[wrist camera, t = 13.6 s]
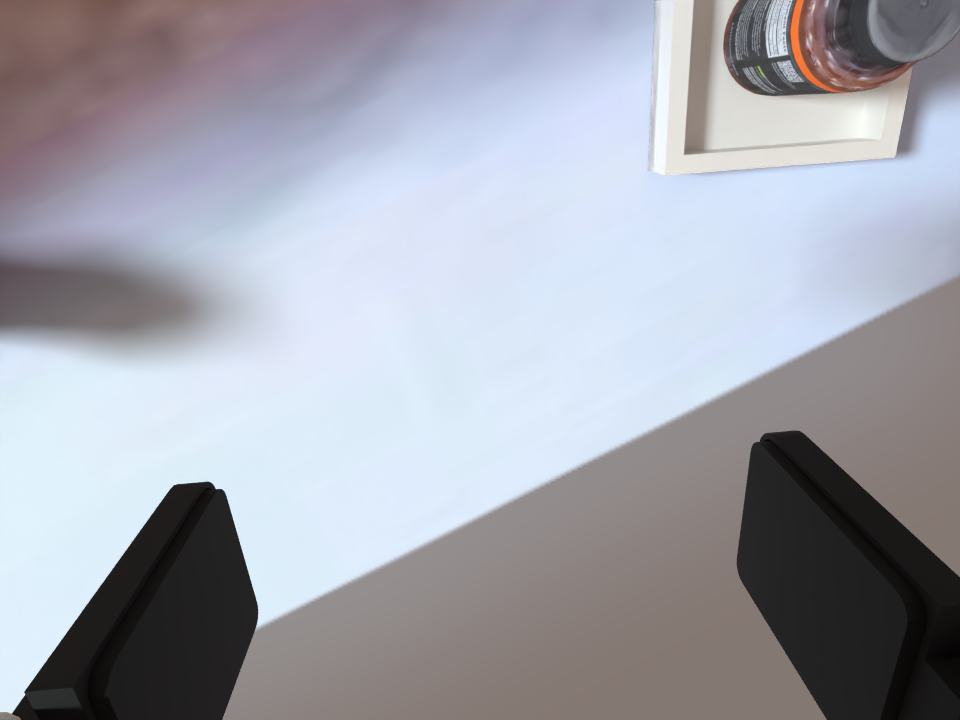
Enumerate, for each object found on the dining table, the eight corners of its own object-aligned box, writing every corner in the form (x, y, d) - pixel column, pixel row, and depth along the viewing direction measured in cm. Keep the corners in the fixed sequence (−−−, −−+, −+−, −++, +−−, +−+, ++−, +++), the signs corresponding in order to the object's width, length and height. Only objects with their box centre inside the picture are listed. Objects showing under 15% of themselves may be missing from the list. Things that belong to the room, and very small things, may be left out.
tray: (658, -94, 31) (679, -113, 28) (906, -111, 31) (951, -132, 28) (648, 170, 36) (664, 175, 33) (860, 153, 36) (895, 157, 33)
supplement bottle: (846, -9, 32) (1041, -64, 21) (796, 109, 34) (951, 110, 24) (745, -43, 31) (897, -119, 21) (701, 79, 33) (817, 67, 23)
